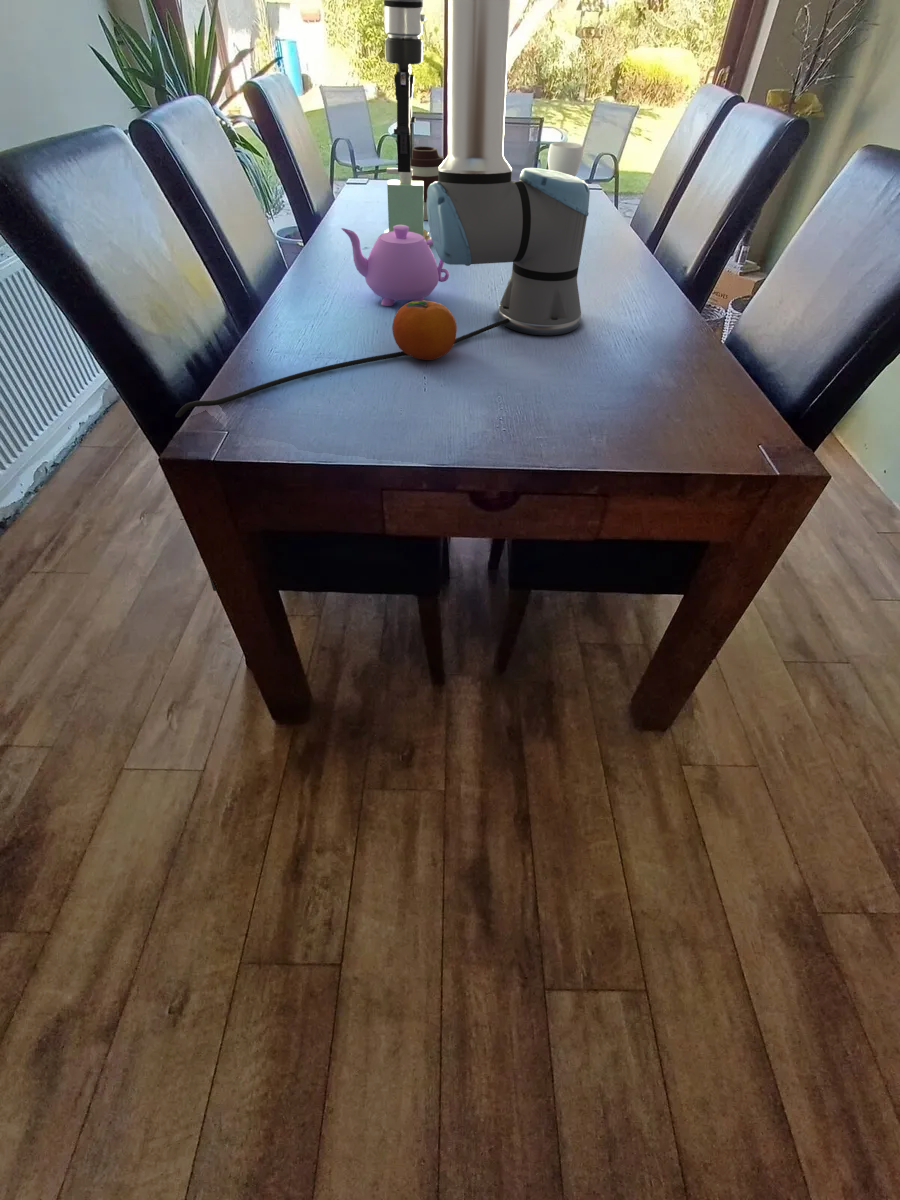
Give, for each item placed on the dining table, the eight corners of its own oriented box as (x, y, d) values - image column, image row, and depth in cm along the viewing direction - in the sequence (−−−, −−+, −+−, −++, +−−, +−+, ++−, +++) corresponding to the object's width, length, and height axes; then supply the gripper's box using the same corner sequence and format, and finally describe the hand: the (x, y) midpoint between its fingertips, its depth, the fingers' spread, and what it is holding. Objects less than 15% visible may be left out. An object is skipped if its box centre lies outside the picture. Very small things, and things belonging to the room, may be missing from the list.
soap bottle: (428, 243, 145) (428, 174, 136) (383, 242, 145) (380, 173, 136) (428, 230, 153) (429, 165, 144) (385, 229, 153) (383, 163, 143)
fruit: (468, 356, 105) (471, 307, 100) (422, 374, 100) (423, 322, 94) (425, 337, 110) (425, 288, 105) (379, 352, 105) (377, 302, 100)
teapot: (346, 311, 118) (340, 237, 109) (346, 285, 128) (341, 215, 119) (452, 310, 120) (454, 237, 111) (444, 285, 130) (446, 216, 121)
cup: (547, 221, 169) (556, 148, 158) (536, 212, 175) (544, 141, 164) (578, 220, 170) (589, 148, 159) (566, 211, 177) (576, 141, 165)
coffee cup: (449, 216, 169) (451, 148, 158) (428, 224, 163) (429, 154, 152) (418, 210, 172) (418, 143, 162) (397, 217, 166) (396, 148, 156)
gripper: (421, 42, 116) (421, 178, 131) (423, 33, 133) (423, 154, 148) (380, 40, 115) (385, 177, 130) (388, 31, 133) (391, 153, 148)
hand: (405, 165), depth 139 cm, fingers open, 13 cm apart
